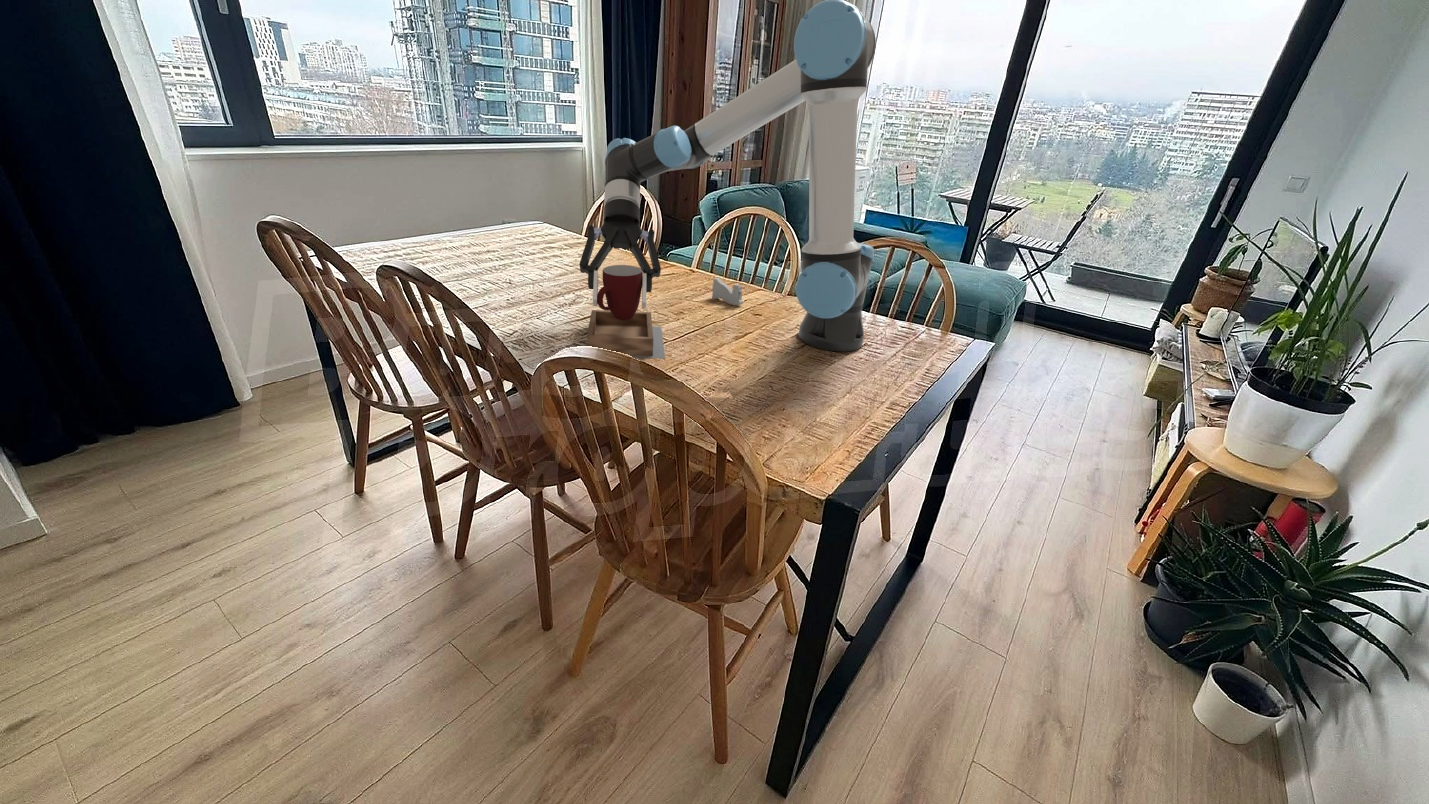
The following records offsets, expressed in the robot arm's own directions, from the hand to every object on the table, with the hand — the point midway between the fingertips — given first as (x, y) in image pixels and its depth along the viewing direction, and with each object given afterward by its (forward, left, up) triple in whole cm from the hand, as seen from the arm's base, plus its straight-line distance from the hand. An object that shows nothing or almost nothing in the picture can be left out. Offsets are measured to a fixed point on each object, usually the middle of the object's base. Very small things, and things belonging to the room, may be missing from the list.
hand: (619, 304), depth 115 cm
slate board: (-1, -3, -10) cm, 11 cm away
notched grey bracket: (-28, -35, -10) cm, 46 cm away
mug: (0, -3, -4) cm, 6 cm away
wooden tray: (0, -3, -9) cm, 10 cm away
